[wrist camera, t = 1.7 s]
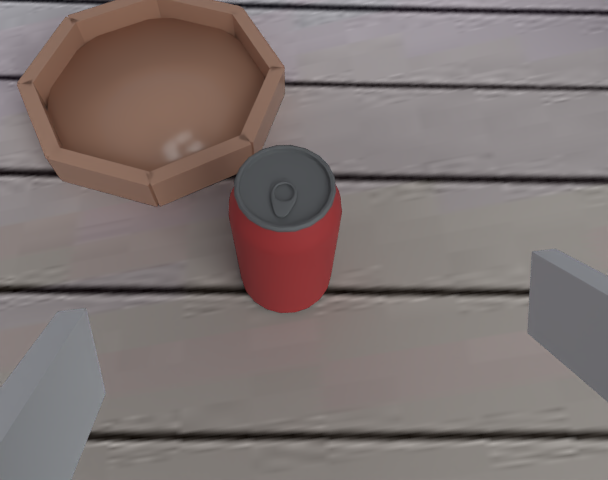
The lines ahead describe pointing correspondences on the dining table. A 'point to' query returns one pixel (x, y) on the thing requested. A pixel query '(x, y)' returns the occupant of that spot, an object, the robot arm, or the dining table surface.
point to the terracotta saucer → (153, 96)
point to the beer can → (285, 226)
